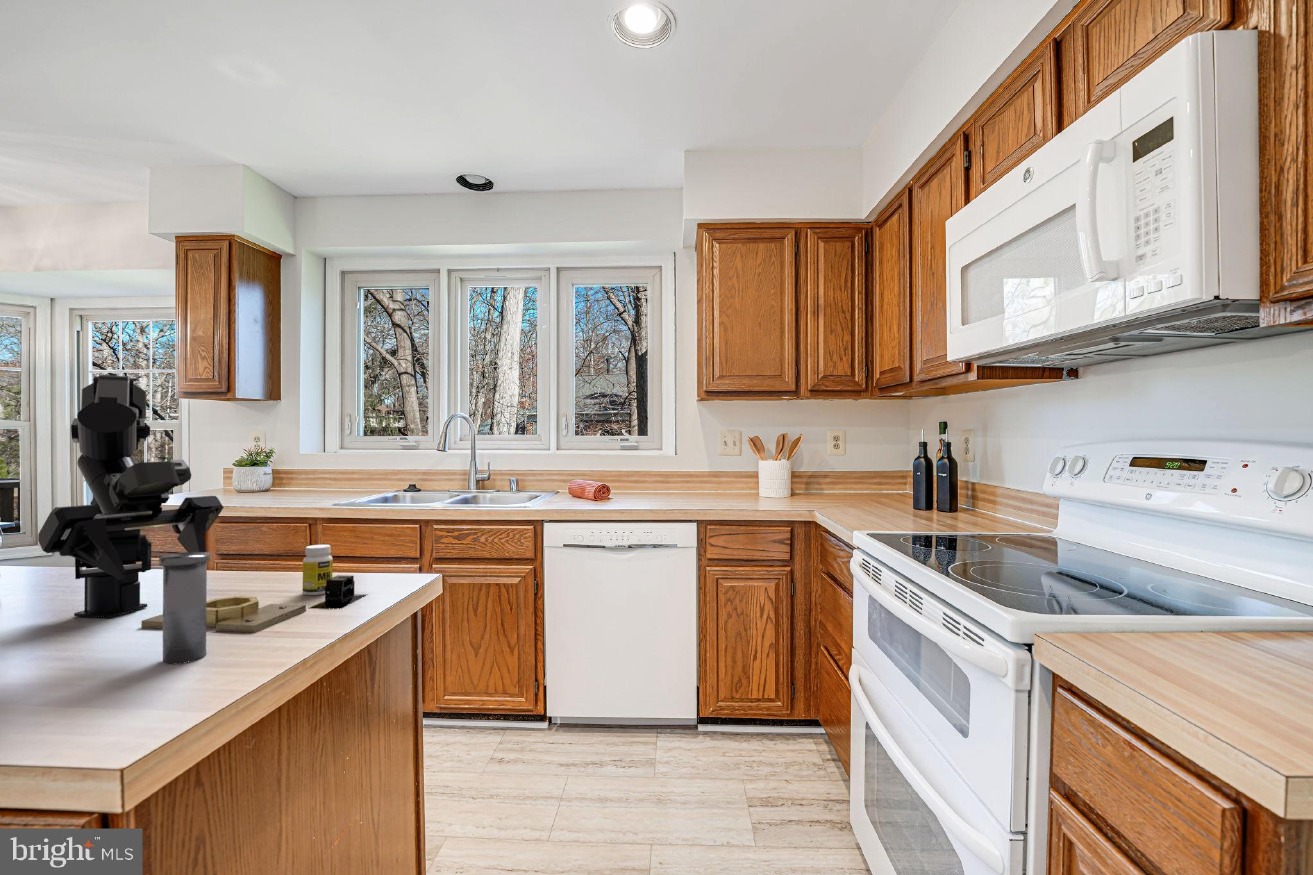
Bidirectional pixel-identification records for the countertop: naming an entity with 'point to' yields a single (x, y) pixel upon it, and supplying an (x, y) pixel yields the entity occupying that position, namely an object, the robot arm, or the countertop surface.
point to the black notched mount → (339, 593)
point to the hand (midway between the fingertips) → (165, 569)
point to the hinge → (239, 614)
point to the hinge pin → (184, 606)
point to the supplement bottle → (316, 569)
